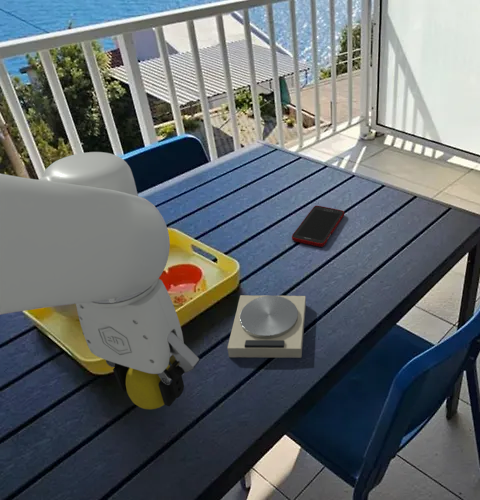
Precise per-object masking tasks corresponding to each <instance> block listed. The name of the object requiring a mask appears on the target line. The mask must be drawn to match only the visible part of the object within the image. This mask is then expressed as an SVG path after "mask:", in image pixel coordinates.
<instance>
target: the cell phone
mask: <svg viewBox="0 0 480 500" xmlns="http://www.w3.org/2000/svg"><path fill="white" fill-rule="evenodd" d="M344 217H345V211H344V210H342V209H338V208H332V207H327V206H322V205H314V206H313V207H312V209H311V210H310V211H309V212H308V214H307V215H306V216H305V217H304V219H303V220H302V221H301V223H300V224H299V225H298V227H297V228H296V230H294V232H293V233H292V235H291V240H292V241H293V242H297V243H300V244H301V243H302V244H305V245H309V246H310V245H311V246H314V247H320V248H322V247H323V248H324V246H325V245H326V244H327V242H328V240H329V239H330V238H331V235H333V233H334V232H335V230H336V229H337V227H338V226H339V224H340V223H341V221H342V219H343V218H344Z"/></svg>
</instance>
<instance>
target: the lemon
mask: <svg viewBox="0 0 480 500" xmlns="http://www.w3.org/2000/svg"><path fill="white" fill-rule="evenodd" d="M170 366H171V364H170V363H169V364H168V367H167V368H166V369H168V368H169V367H170ZM160 381H161V379H160V377H159V376H158V374H151V373H146V372H142V371H139V370H136V369H133V368H129V369H128V371H127V374H126V389H127V391H126V393H127V395H128V397H129V399H130V400H131V402H132V403H133V404H134V405H136V406H137V407H138V408H139V409H140V408H141V409H143V410H156V409H160V408H161V407H163V406H165V404H164V402H163V399H162V395H161V392H160V388H159V382H160Z"/></svg>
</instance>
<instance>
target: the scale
mask: <svg viewBox="0 0 480 500" xmlns="http://www.w3.org/2000/svg"><path fill="white" fill-rule="evenodd" d="M306 299H307V298H306V295H250V294H249V295H239V299H238V303H237V307H236V312H235V316H234V320H233V324H232V327H231V332H230V336H229V340H228V344H227V354H228V358H274V359H275V358H277V359H278V358H280V359H281V358H282V359H283V358H285V359H286V358H289V359H291V358H293V359H294V358H296V359H301V358H302V357H303V355H302V354H303V343H304V331H305V319H306V310H307V309H306V308H307V300H306Z"/></svg>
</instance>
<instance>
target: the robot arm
mask: <svg viewBox="0 0 480 500" xmlns="http://www.w3.org/2000/svg"><path fill="white" fill-rule="evenodd" d="M137 190H138V189H137V185H136V181H135V178H134V174H133V171H132V169H131V167H130V165H129V164H128V162H127V161H126V160H125V159H123V158H122V157H120V156H118V155H116V154H113V153H110V152H103V151H89V152H88V151H87V152H80V153H75V154H71V155H68V156H64V157H62V158H60V159H57V160H56V161H53V162H52V163H51V164H50V165H49V166H48V167H46V168H45V170H44V171H43V173H42V175H41V178H38V179H35V178H29V177H22V176H16V175H11V174H6V173H0V315H2V316H3V315H6V314H14V313H18V312H25V311H31V310H38V309H45V308H53V307H60V306H69V305H75V306H76V311H77V316H78V319H79V323H80V327H81V330H82V335H83V337H84V339H85V342H86V345H87V347H88V349H89V351H90V353H91V354H93V355H94V356H96V357H98V358H100V359H103V360H105V363H106V364H107V365H108V366H109V367H111V368H113V369H112V371H113V373H114V376H115V380H116V382H117V384H118V387H119V390H120V391H122V392H127V389H126V374H127V371H128V369H129V368H133V369H136V370H139V371H142V372H146V373H151V374H158V376H159V377H160V379H161V381H160V382H159V388H160V392H161V395H162V399H163V402H164V406H167V407H171V406H172V405H173V403H174V402H175V401H176V400H177V398H179V397H180V396H181V395H182V394H183V392H184V389H185V384H184V380H183V375H184V374H185V373H189V372H191V371H193V370H194V369H195V368H196V366H197V365H198V364H199V362H200V361H201V359H200V357H198V356H197V355H196V354H195V353H194V352H193V351H192V350H191V348H189V347H188V346H187V345H186V344H185V343H184V341H185V340H184V335H183V331H182V326H181V323H180V319H179V317H178V314H177V311H176V309H175V305H174V303H173V300H172V298H171V295H170V294H169V291H168V289H167V287H166V285H165V284H164V282H163V280H162V279H160V277H161V276H162V275H163V272H164V270H165V268H166V266H167V263H168V260H169V255H170V248H171V247H170V246H171V243H170V242H171V241H170V233H169V230H168V226H167V223H166V221H165V219H164V217H163V214H162V213H161V212H160V210H159V209H158V208H157V207H156V206H155V205H154V203H152V202H151V201H149V200H148V199H146V198H145V197H143V196H139V194H138V191H137ZM168 364H169V365H170V367H169V368H168V369H166V368H167V367H168Z"/></svg>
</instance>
